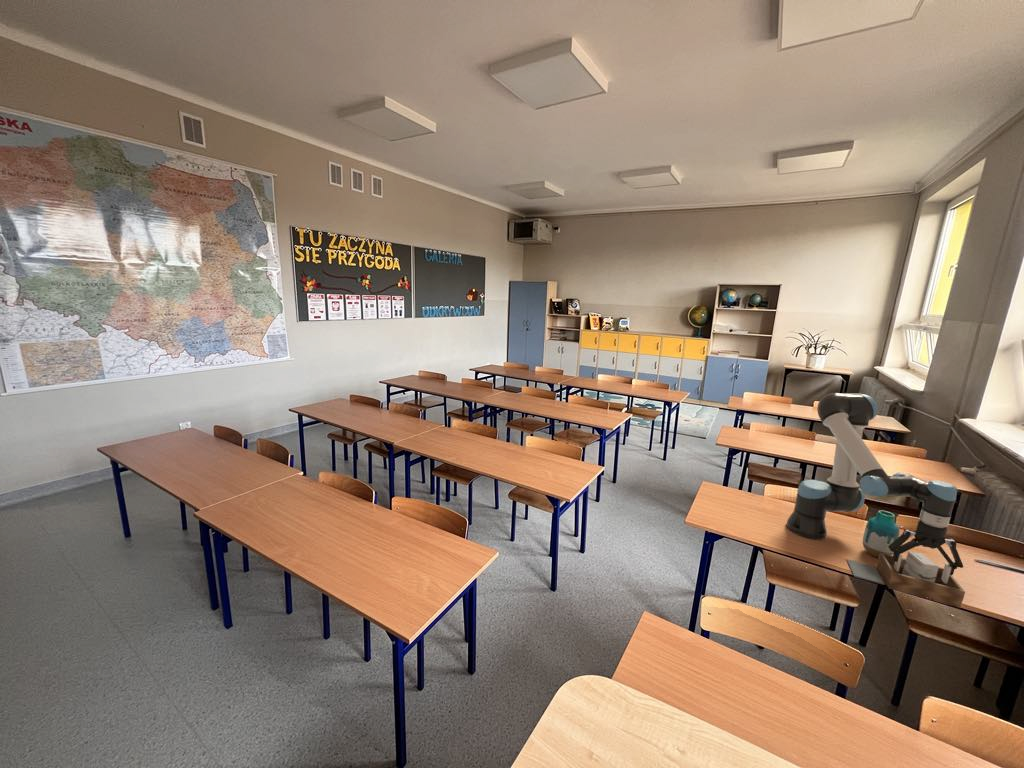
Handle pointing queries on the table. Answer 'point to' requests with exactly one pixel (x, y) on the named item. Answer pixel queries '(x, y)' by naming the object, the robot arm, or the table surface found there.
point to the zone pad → (865, 571)
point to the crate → (920, 583)
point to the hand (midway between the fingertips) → (919, 575)
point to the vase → (880, 533)
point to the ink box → (920, 567)
